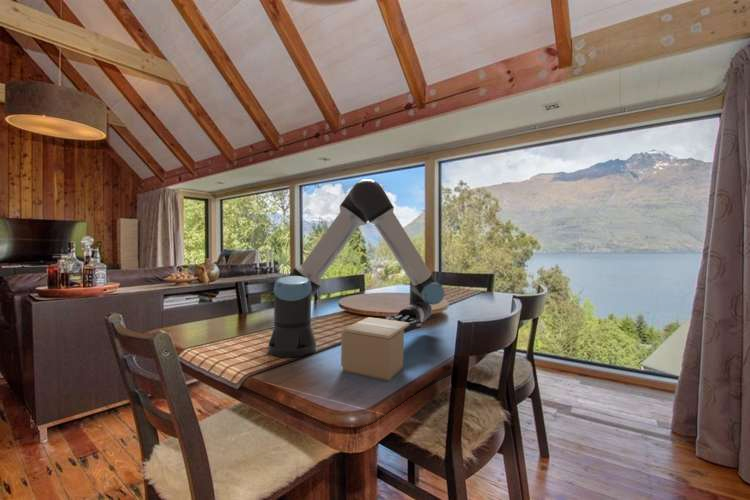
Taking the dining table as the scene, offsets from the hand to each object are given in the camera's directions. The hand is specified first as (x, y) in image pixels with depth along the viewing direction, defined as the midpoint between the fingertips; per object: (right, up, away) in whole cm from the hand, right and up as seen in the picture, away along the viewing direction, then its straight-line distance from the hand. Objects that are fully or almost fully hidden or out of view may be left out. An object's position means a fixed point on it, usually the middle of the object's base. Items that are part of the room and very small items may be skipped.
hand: (383, 334), depth 102 cm
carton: (-3, -9, -5) cm, 11 cm away
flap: (-2, +3, -4) cm, 5 cm away
